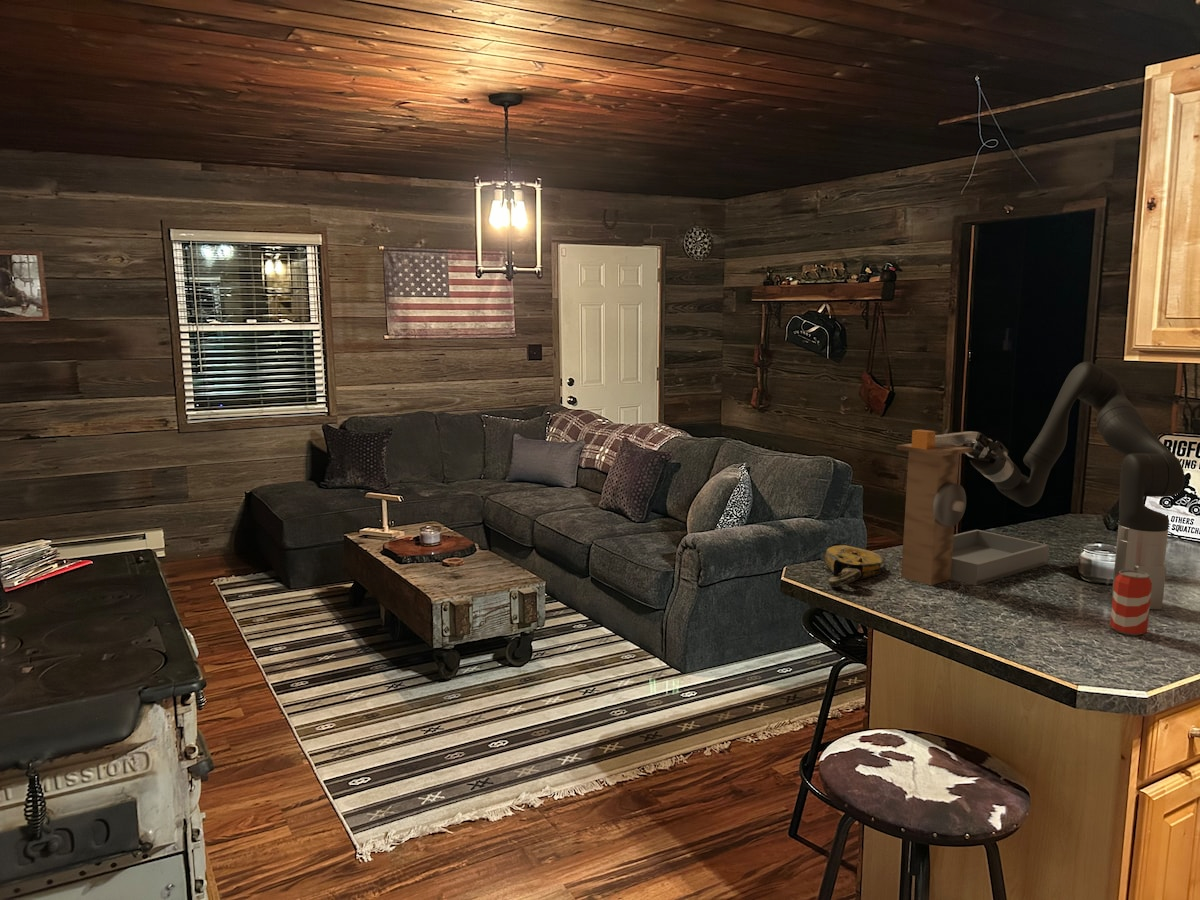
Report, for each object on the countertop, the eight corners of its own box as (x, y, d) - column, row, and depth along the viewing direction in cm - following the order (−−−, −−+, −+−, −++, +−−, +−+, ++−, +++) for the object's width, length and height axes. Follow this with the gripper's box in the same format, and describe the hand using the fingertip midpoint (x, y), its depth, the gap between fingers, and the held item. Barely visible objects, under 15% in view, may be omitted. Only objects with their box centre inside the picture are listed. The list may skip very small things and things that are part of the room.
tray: (975, 547, 240) (976, 529, 240) (1047, 564, 224) (1049, 545, 223) (902, 565, 222) (904, 546, 221) (976, 585, 206) (977, 564, 205)
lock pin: (966, 440, 217) (967, 424, 216) (981, 442, 214) (982, 426, 213) (911, 447, 204) (912, 430, 204) (926, 449, 201) (927, 432, 201)
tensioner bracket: (919, 568, 219) (927, 441, 215) (970, 582, 208) (980, 448, 203) (888, 576, 212) (896, 445, 208) (940, 591, 201) (950, 453, 196)
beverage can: (1106, 631, 176) (1112, 573, 174) (1115, 623, 181) (1121, 567, 179) (1140, 639, 172) (1147, 580, 170) (1149, 631, 176) (1155, 573, 174)
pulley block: (811, 561, 202) (832, 533, 229) (806, 585, 203) (828, 554, 230) (874, 578, 196) (888, 547, 224) (869, 602, 198) (883, 569, 225)
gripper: (971, 445, 228) (941, 417, 219) (1024, 452, 216) (995, 423, 207) (961, 471, 227) (930, 444, 217) (1014, 480, 215) (983, 451, 206)
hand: (961, 434), depth 212 cm, fingers open, 8 cm apart
